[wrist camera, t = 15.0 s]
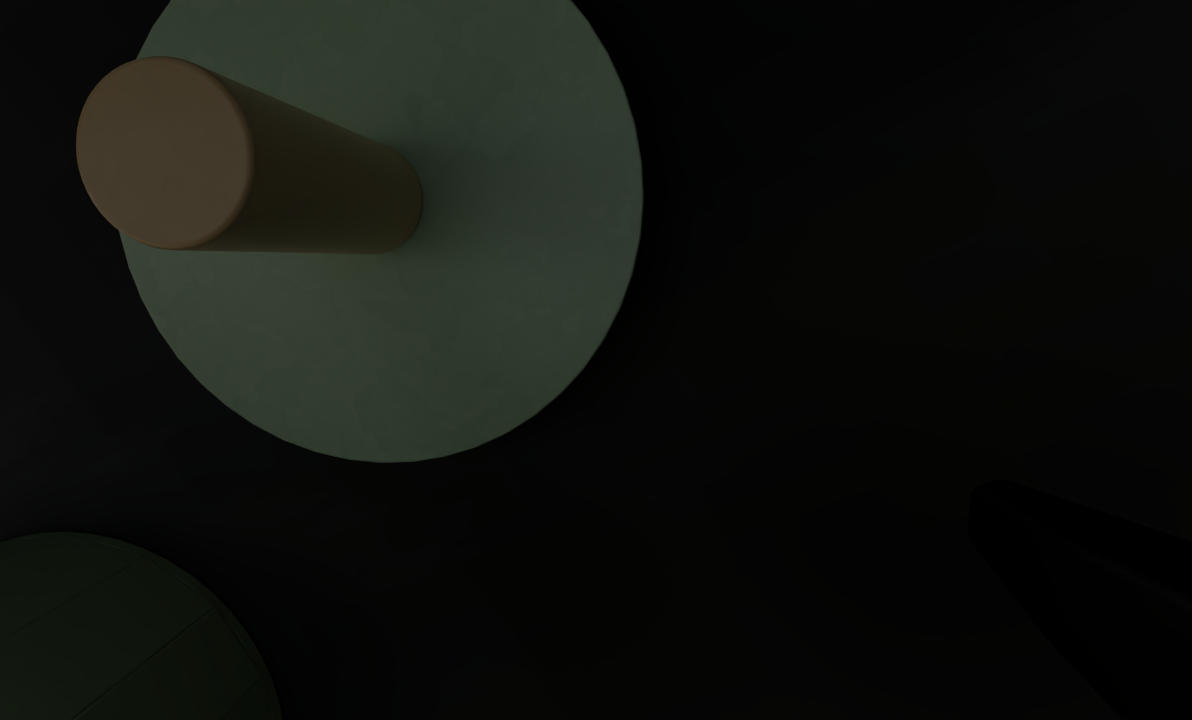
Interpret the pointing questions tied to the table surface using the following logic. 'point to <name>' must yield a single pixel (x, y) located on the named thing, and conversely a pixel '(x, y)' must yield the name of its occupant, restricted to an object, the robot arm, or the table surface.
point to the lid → (373, 210)
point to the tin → (119, 637)
